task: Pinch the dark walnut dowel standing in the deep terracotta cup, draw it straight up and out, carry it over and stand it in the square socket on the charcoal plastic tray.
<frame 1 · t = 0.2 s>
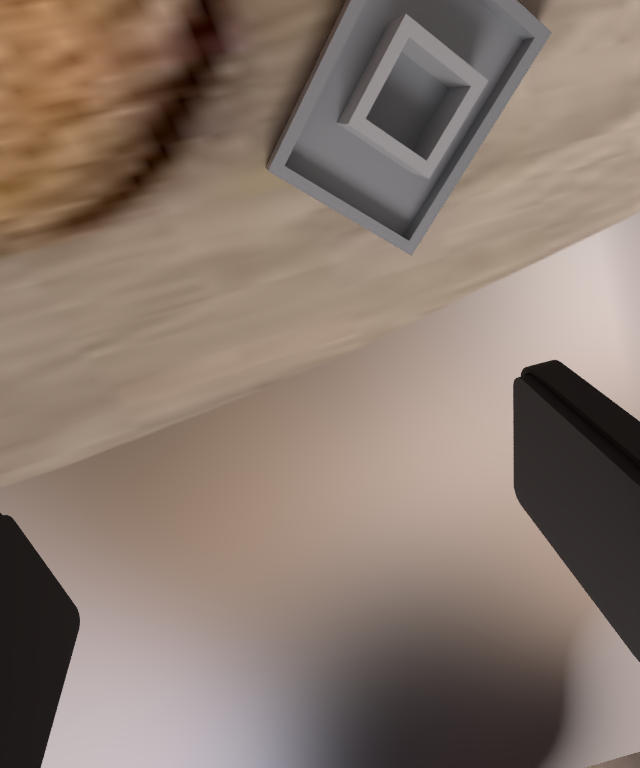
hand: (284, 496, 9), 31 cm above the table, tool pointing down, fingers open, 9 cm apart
tray: (396, 103, 34), on the table
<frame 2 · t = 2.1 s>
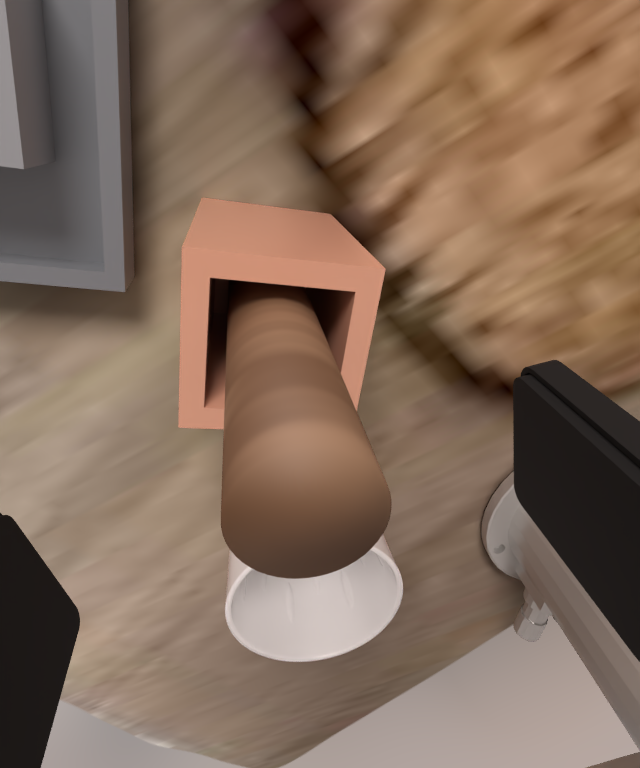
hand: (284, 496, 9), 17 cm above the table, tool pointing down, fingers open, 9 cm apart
cup: (261, 269, 25), on the table
dowel: (262, 272, 24), point 1 cm above the table, touching cup
white cup: (292, 465, 31), on the table
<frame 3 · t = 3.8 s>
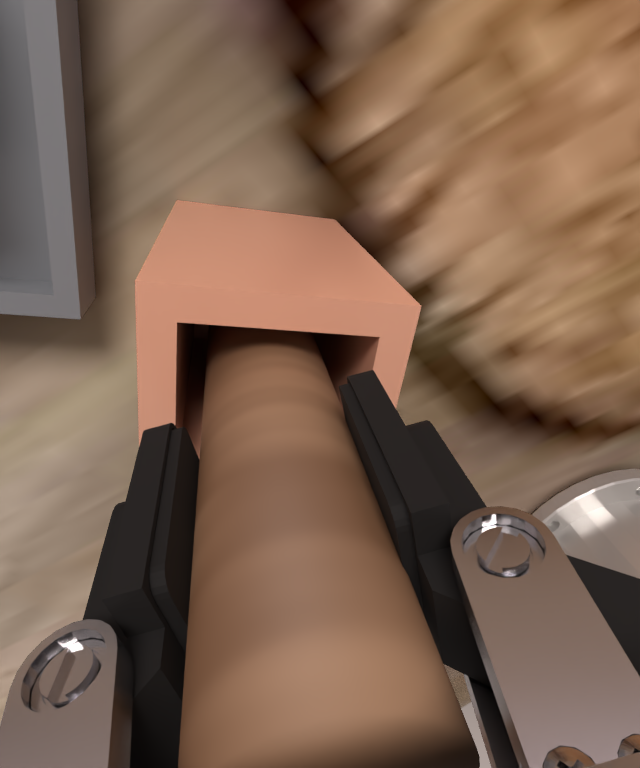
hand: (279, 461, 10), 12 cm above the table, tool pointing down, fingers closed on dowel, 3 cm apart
cup: (251, 286, 20), on the table
dowel: (252, 290, 20), point 1 cm above the table, touching cup, gripper
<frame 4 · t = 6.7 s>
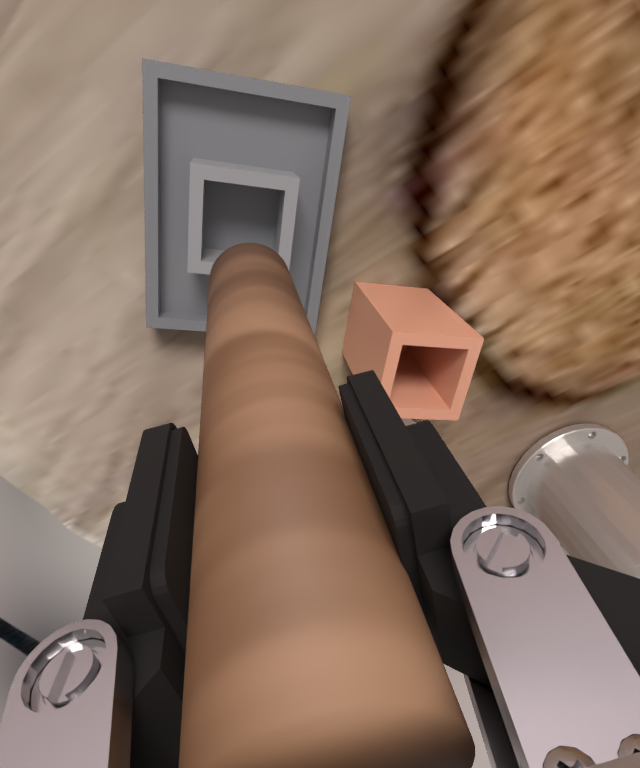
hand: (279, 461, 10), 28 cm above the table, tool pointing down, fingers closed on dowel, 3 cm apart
cup: (384, 321, 40), on the table
dowel: (250, 283, 20), point 17 cm above the table, touching gripper
tray: (240, 213, 35), on the table
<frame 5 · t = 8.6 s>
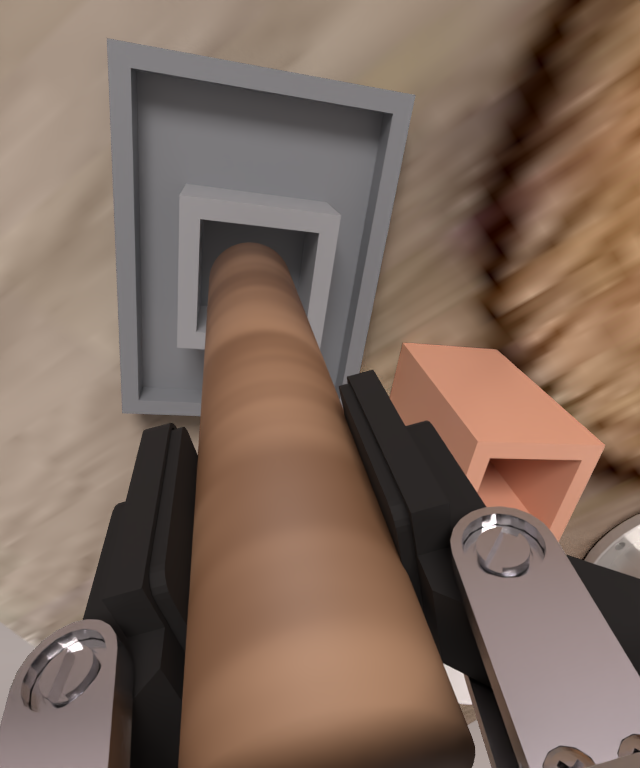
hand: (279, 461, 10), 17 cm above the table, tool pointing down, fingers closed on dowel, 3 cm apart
cup: (437, 390, 31), on the table
dowel: (250, 283, 20), point 6 cm above the table, touching gripper
tray: (251, 257, 25), on the table
white cup: (433, 532, 37), on the table
when the fingers open (14 cm above the table, at t = 10.0 s): dowel drops 1 cm, resting on tray.
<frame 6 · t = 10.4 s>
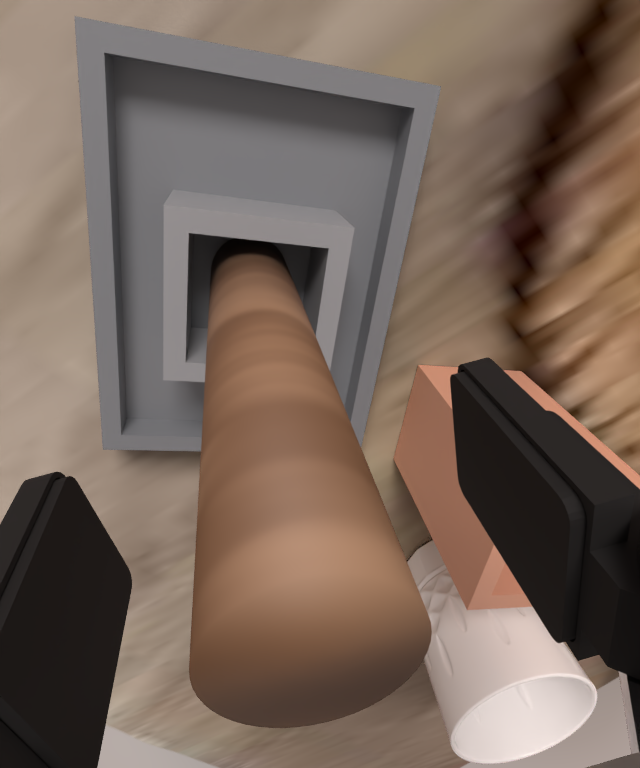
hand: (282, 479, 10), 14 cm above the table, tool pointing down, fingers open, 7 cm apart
cup: (455, 416, 28), on the table
dowel: (249, 273, 21), point 1 cm above the table, touching tray
tray: (249, 272, 22), on the table
white cup: (447, 564, 34), on the table
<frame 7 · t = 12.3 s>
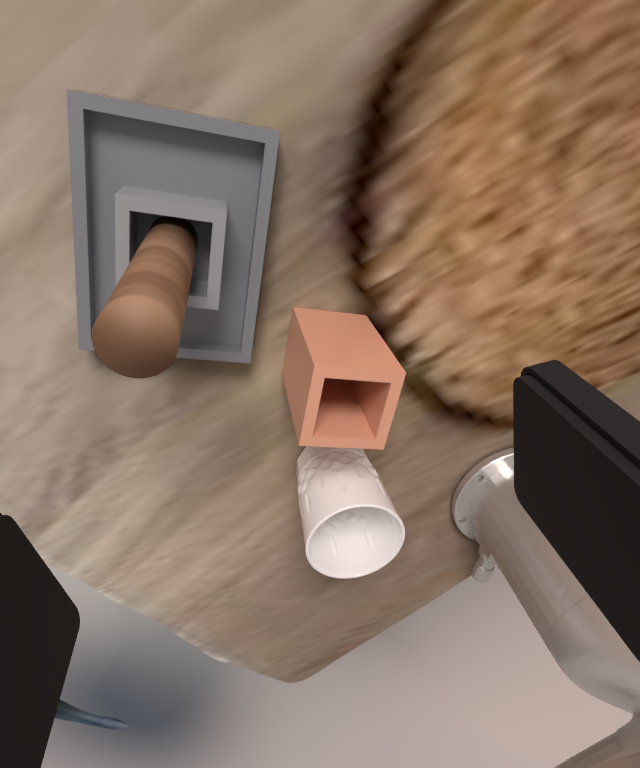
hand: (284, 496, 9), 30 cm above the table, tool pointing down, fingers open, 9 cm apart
cup: (323, 345, 41), on the table
dowel: (173, 239, 34), point 1 cm above the table, touching tray
tray: (175, 239, 35), on the table
white cup: (330, 462, 47), on the table
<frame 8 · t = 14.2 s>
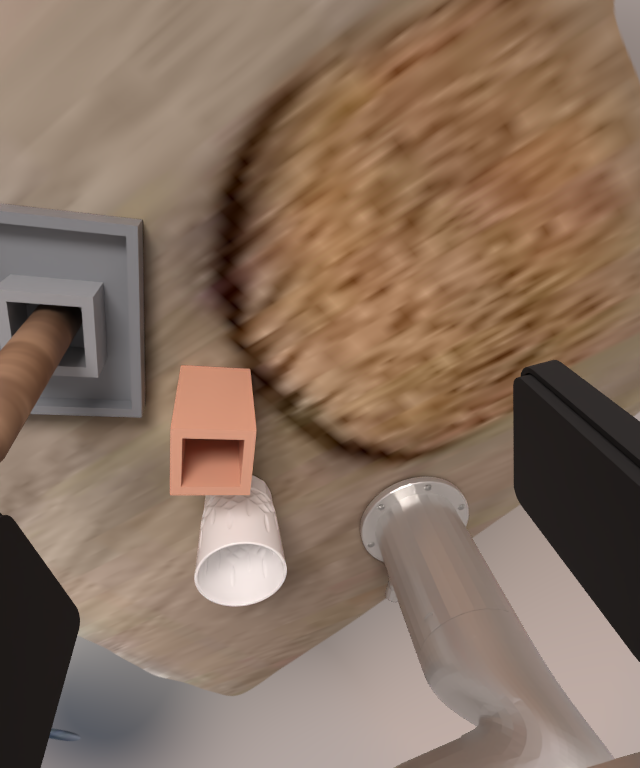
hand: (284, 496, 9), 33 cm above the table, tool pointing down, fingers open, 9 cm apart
cup: (214, 396, 46), on the table
dowel: (60, 315, 39), point 1 cm above the table, touching tray
tray: (65, 313, 40), on the table
white cup: (238, 496, 52), on the table
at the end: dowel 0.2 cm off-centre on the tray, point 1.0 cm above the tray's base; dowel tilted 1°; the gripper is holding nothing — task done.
